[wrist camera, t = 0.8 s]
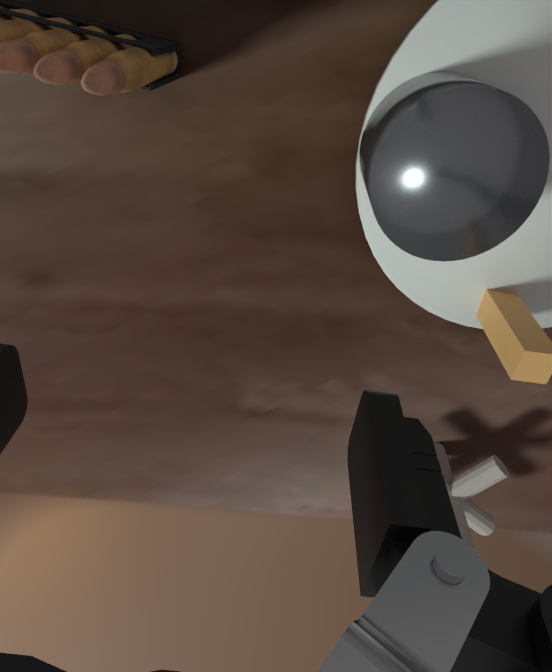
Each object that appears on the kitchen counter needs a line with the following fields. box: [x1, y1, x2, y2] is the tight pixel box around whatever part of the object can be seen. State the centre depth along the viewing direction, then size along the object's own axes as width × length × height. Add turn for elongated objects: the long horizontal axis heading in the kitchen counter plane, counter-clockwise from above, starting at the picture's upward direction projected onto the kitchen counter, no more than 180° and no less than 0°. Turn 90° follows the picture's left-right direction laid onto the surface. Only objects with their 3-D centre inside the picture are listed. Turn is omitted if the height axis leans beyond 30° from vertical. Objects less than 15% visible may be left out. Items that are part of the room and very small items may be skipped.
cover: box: [359, 71, 550, 261], centre depth 26 cm, size 8×8×6 cm
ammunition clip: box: [0, 0, 182, 95], centre depth 23 cm, size 11×2×12 cm, turn 78°
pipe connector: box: [434, 442, 509, 550], centre depth 40 cm, size 10×10×10 cm
